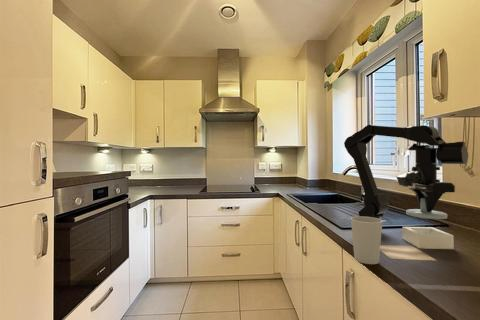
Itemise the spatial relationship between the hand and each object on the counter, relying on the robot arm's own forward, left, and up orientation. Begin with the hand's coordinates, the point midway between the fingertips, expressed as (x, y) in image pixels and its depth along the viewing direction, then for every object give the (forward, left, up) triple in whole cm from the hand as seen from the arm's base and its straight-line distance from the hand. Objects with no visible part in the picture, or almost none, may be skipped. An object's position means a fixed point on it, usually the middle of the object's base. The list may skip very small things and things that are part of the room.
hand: (425, 210), depth 85 cm
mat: (+9, -12, -12) cm, 19 cm away
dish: (0, 0, -12) cm, 12 cm away
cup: (+16, -25, -12) cm, 32 cm away
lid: (0, 0, -2) cm, 2 cm away
